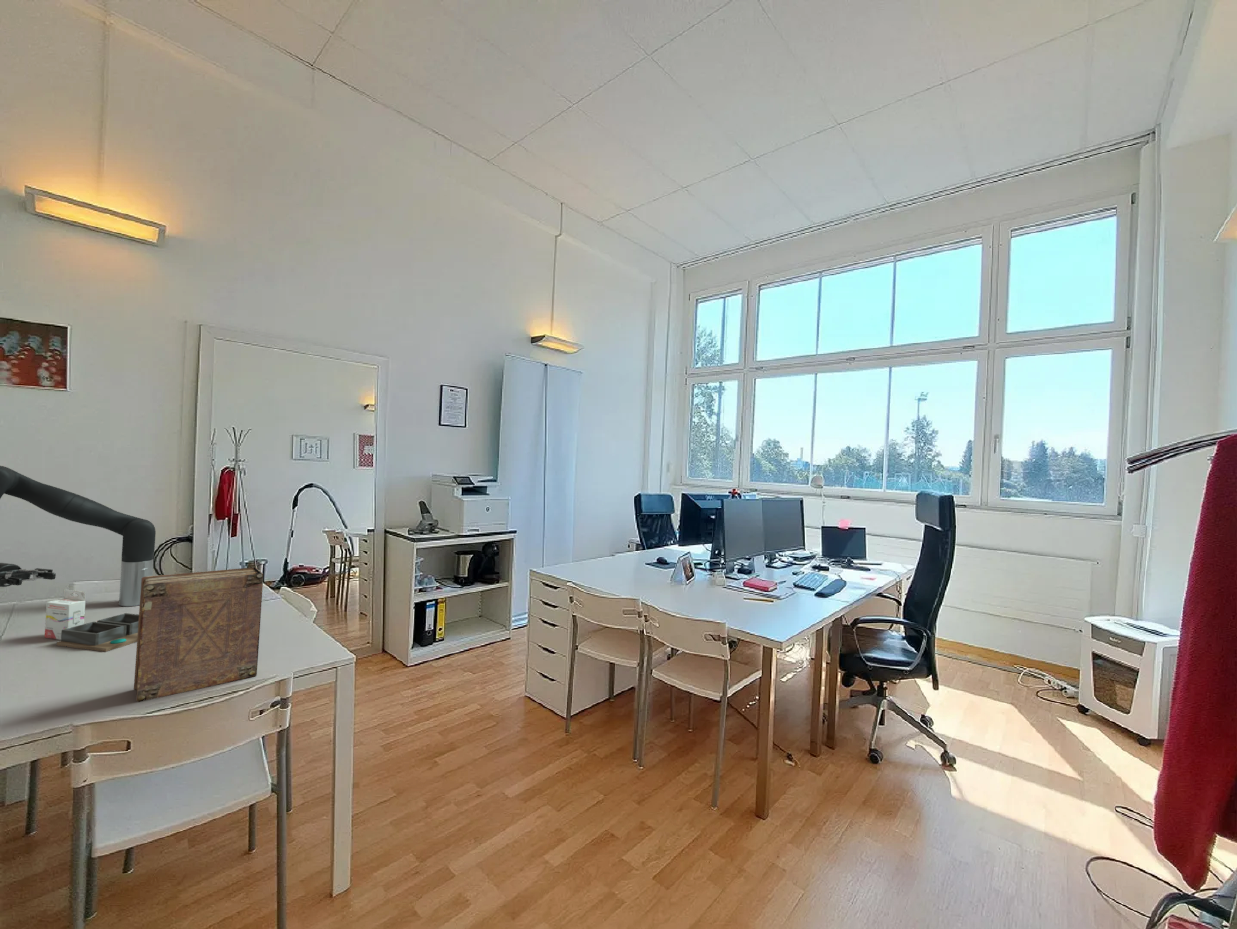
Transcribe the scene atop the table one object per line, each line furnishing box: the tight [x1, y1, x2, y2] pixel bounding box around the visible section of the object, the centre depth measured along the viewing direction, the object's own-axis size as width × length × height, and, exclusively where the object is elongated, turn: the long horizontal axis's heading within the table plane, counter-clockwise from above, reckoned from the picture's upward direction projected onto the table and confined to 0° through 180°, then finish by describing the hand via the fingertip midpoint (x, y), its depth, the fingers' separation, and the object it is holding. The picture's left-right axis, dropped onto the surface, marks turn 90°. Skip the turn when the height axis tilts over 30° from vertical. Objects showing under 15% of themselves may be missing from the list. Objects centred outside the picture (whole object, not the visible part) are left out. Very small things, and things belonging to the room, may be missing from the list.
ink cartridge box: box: [44, 589, 86, 641], centre depth 162 cm, size 9×5×15 cm, turn 84°
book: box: [133, 566, 264, 703], centre depth 138 cm, size 25×9×30 cm, turn 136°
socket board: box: [56, 612, 139, 653], centre depth 164 cm, size 20×18×4 cm
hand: (37, 579), depth 163 cm, fingers open, 8 cm apart
